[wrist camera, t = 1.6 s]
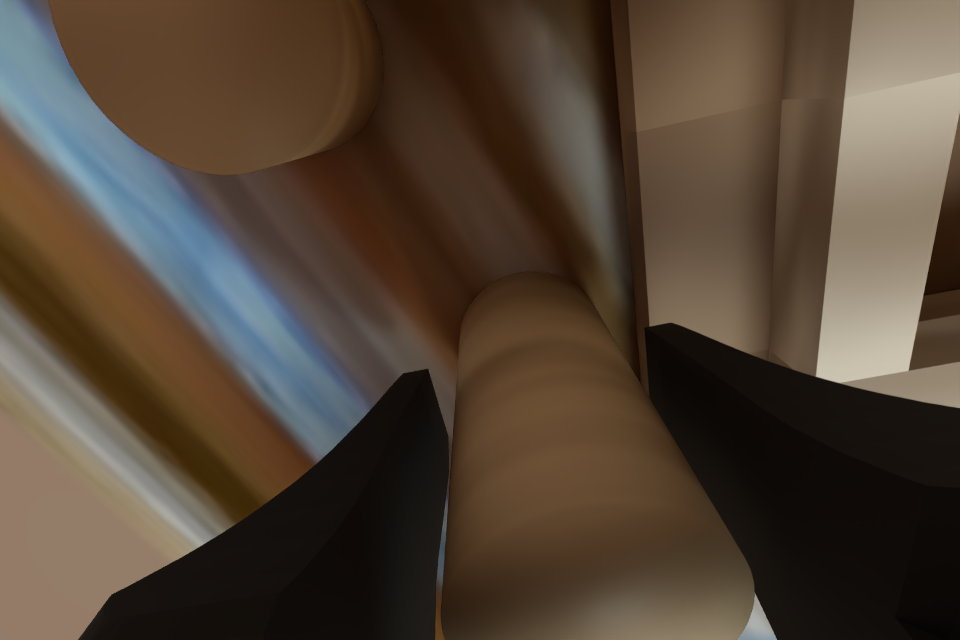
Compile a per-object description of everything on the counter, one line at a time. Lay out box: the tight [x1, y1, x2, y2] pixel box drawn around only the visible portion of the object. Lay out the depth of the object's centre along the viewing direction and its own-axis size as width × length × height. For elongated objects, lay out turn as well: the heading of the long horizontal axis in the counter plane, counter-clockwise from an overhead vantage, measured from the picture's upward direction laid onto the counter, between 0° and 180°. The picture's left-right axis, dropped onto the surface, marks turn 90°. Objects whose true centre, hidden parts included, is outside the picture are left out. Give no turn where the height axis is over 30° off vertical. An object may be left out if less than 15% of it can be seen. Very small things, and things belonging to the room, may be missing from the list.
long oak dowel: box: [441, 272, 755, 640], centre depth 10 cm, size 4×4×8 cm
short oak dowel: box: [49, 0, 384, 175], centre depth 9 cm, size 4×4×4 cm
